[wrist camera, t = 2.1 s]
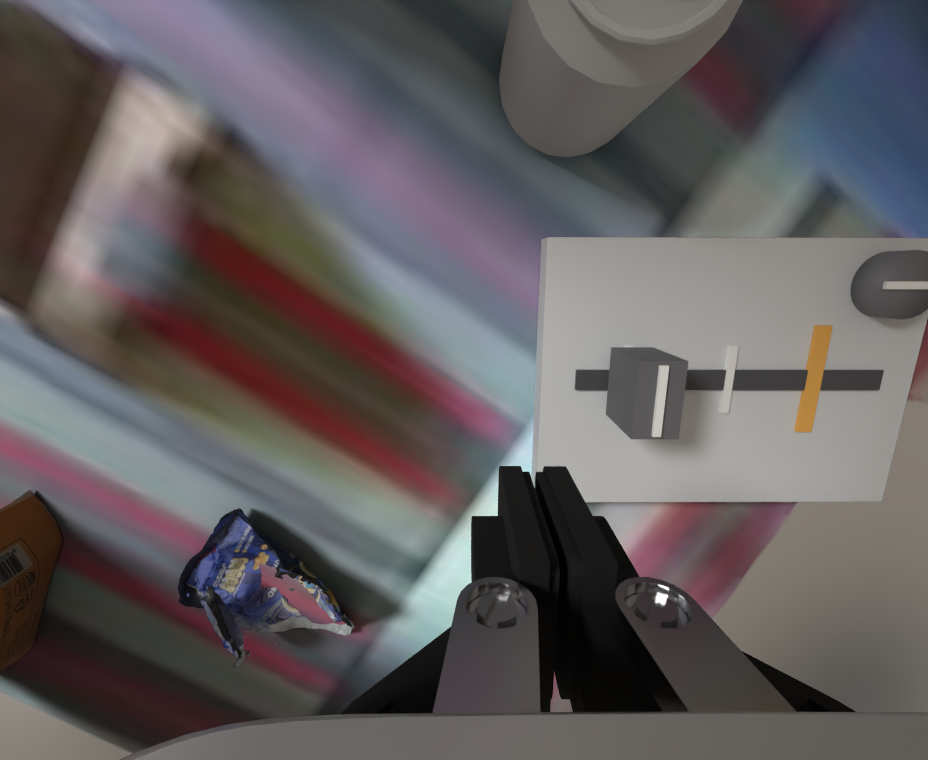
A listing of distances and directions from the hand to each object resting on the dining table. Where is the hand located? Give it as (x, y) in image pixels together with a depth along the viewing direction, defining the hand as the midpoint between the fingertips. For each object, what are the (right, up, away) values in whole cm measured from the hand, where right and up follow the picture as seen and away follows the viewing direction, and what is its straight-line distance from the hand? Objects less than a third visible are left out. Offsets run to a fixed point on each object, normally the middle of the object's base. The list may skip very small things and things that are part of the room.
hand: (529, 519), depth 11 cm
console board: (+14, +4, +17) cm, 22 cm away
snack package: (-15, -10, +21) cm, 28 cm away
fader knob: (+8, +4, +14) cm, 17 cm away
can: (+4, +20, +13) cm, 24 cm away
